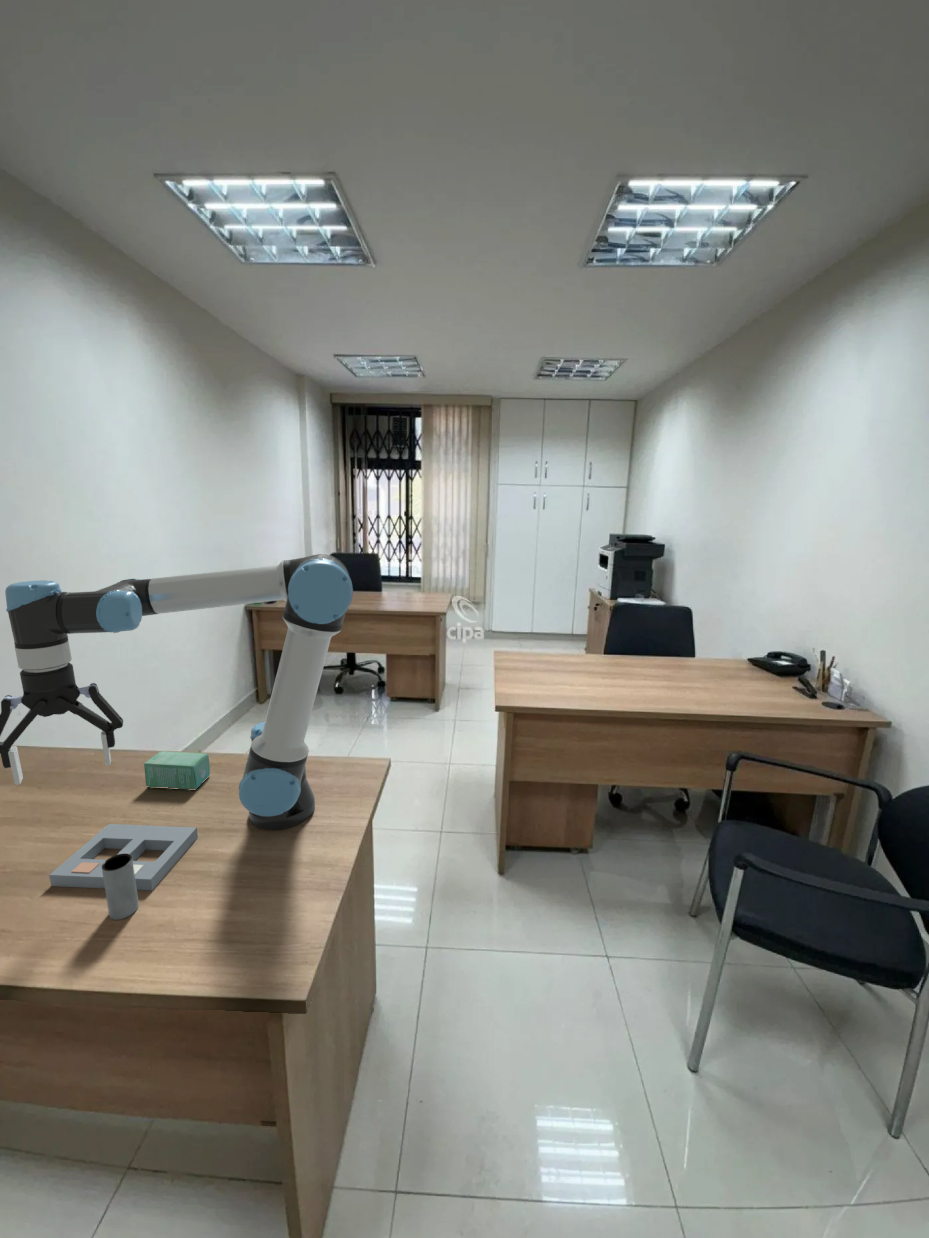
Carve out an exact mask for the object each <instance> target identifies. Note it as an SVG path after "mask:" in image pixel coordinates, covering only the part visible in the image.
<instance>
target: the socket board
mask: <svg viewBox="0 0 929 1238" xmlns="http://www.w3.org/2000/svg"><path fill="white" fill-rule="evenodd" d="M197 828H198V827H196V826H195V827H191V826H169V825H168V826H166V825H147V824H146V825H143V824H122V823H121V824H119V823H109V824H106V826H105V827H104V828H102V829H101V830H100V831H99V832H98V833H97V834H95V835H94V836H93V837H92V838H91V839H89V840H88V841H87V842H86V843H85V844H83V845H82V847H80V848H78V850H77V851H76V852H74V853H73V854H72V855H70V857H68V858H67V859H66V860H65V861H63V863H61V864H60V865H59V866H58V867H56V869H54V870H53V871H52V872H51V873H49V876H48V877H49V881H50V886H51V887H63V888H64V887H66V888H68V887H69V888H85V889H86V888H91V889H105V886H104V879H103V873H102V864H103V863H104V862H105V861H106V860H107V859H96V857H97V856H98V855H99V854H100V853H101V852H102V851H103V850H104V849H115V850H116V849H119V852H118V853H117V854H116V855H118V854H130V855H131V856H132V860H133V867H134V874H135V881H136V888H137V891H153V890H154V889H156V887H157V886H158V884H160V882H162V880H163V879H164V878H165V876H167V874H168V873H169V872H170V871H171V869H172V868H173V867H174V866H175V865H176V864H177V863H178V861H179V860H180V859H181V858H182V857H183V855H184V854H185V853H186V851H188V849H189V848H190V847H191V846H192V845H193V843H195V841H197V839H198V838H199V835H198V829H197ZM145 851H163V852H162V854H161V855H159V857H158V858H157V859H156V860H155V861H144V860H143V861H142V860H138V859H139V857H141V855H143V854H144V852H145Z"/></svg>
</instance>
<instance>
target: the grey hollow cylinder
mask: <svg viewBox="0 0 929 1238" xmlns="http://www.w3.org/2000/svg"><path fill="white" fill-rule="evenodd" d="M117 854H118V853H117ZM117 854H115V855H113V856H111V857H109V858H107V859H105V860H106V861H105V862H104V863H103V864H102V873H103V879H104V886H105V888H104V892H105V897H106V903H107V905H106V906H107V910H108V916H109V918H110V919H111V920H114V921H115V920H116V921H118V920H123V919H126V918H128V917H130V916H131V915H133V914H134V913H135V912H136V911H137V910H138V909H139V907H140V906H139V905H140V903H139V896H138V890H137V888H136V881H135V874H134V867H133V860H132V856H131V855H130V854H118V855H117Z"/></svg>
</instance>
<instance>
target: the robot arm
mask: <svg viewBox="0 0 929 1238" xmlns="http://www.w3.org/2000/svg"><path fill="white" fill-rule="evenodd" d="M353 593H354V588H353V583H352V579H351V577H350V573H349V571H348V569H347V567H346V565H345V564H344V563H343V562H342V561H341V560H340V559H338V558H337V557H335V556H333V555H331V554H330V555H329V554H326V553H324V554H323V553H322V554H321V553H317V554H312V555H309V556H305V557H300V558H299V557H298V558H295V559H294V558H293V559H285V560H281V562H280V563H279V564H277V565H270V566H263V567H262V566H261V567H260V566H259V567H253V568H252V567H251V568H245V569H233V570H222V571H213V572H203V573H202V572H201V573H193V574H183V575H173V576H164V577H155V578H146V579H141V578H127V579H122V580H120V581H118V582H116V583H113V584H111V585H109V586H106V587H104V588H100V589H98V590H95V591H93V590H92V591H77V592H75V591H74V592H71V591H70V592H67V591H62V589H61V586H60V584H59V583H58V582H57V581H55V580H27V581H20V582H14V583H11V584H9V585H7V587H5V600H6V612H7V613H8V619H9V622H10V627H11V632H12V637H13V641H14V642H13V643H14V651H15V656H16V662H17V667H18V668H19V669H20V672H19V677H20V681H21V688H22V692H23V694H22V696H12V695H11V694H8V695H7V694H6V695H5V696H4V697H3V698H2V700H1V701H0V737H1V736H2V734H3V731H4V729H5V727H6V725H7V722H8V721H9V718H10V716H11V713H12V712H13V710H16V709H17V707H18V706H19V704H22V705H23V706H25V707H26V708H27V709H29V710H28V712H27V713H26V714H25V715H24V717H23V718H22V719H21V720H20V721H19V723H18V724H16V726H15V727H14V729H12V731H11V733H9V735H8V736H7V737H6V738H5V739H4V741H0V757H1V762H2V767H3V768H4V769H9V768H11V773H12V778H13V782H14V786H18V785H21V783H22V781H23V778H24V776H23V775H24V774H23V770H22V766H21V760H20V756H19V750H18V746H17V745H14V743H15V742H16V741H17V740H18V739H19V737H21V735H22V734H23V733H24V732H25V730H26V729H27V728H28V727H29V726H30V724H31V723H32V722H33V721H34V720H35V719H36V717H37V716H40V717H43V718H46V717H51V716H53V715H59V716H60V715H64V714H66V713H68V712H70V713H72V714H73V715H75V716H79V717H80V718H82V719H84V721H87V722H88V723H89V724H91V725H92V726H94V727H95V728H97V729H99V730H101V732H100V739H101V744H102V746H101V747H102V751H103V752H102V753H103V757H104V762H105V766H106V767H108V766H111V762H112V757H111V750H110V748H114V747H115V745H116V738H115V733H114V731H116V730H117V729H121V728H122V727H123V726H124V719H123V717H121V716H120V714H119V713H118V712H117V711H116V710H115V708H114V707H112V705H111V704H110V703H109V702H108V701H107V700H106V698H105V697H104V696H103V695H102V694H101V693H100V690H99V688H98V687H99V686H98V684H97V683H95V682H92V683H90V684H89V685H88V686H83V687H79V686H78V685H77V683H76V676H75V671H74V666H73V664H72V663H71V661H72V660H73V659H72V654H71V649H70V643H69V636H68V634H69V635H71V634H96V633H97V634H98V633H113V634H115V633H120V632H131V631H134V630H136V629H138V628H139V626H140V623H141V622H142V618H143V617H146V616H153V615H159V614H168V613H178V612H179V613H180V612H186V611H188V612H189V611H194V610H195V611H196V610H203V609H213V608H221V607H222V608H223V607H232V606H240V605H248V604H258V603H267V602H275V601H276V602H277V601H284V602H285V606H284V610H283V614H282V620H283V621H284V623H285V624H286V626H287V631H286V635H285V639H284V644H283V646H282V650H281V651H282V652H281V654H280V655H281V656H280V659H279V663H278V668H277V672H276V675H275V679H274V683H273V684H274V685H273V687H272V692H271V695H270V699H269V704H268V707H267V712H266V716H265V720H264V721H262V722H261V721H260V722H259V723H257V724H255V725H254V726H253V727H252V728H251V730H250V739H251V744H250V749H249V752H248V756H247V761H246V764H245V767H244V771H243V775H242V779H241V780H240V781H239V785H238V796H239V798H238V799H239V801H240V803H241V805H242V806H243V807H244V808H245V809H246V810H247V811H248V817H249V821H250V823H251V824H252V825H253V826H255V827H257V828H259V829H262V830H268V831H269V830H270V831H271V830H272V831H275V830H276V831H277V830H282V829H288V828H291V827H293V826H296V825H298V824H299V825H300V824H302V822H304V821H306V820H307V819H308V818H310V817H311V815H313V813H314V811H315V809H316V808H315V807H316V800H315V795H314V792H313V790H312V788H311V786H310V783H309V782H308V779H307V773H306V770H307V769H306V764H307V763H306V762H307V760H308V757H309V756H308V755H309V752H310V749H309V746H308V745H307V743H306V742H305V739H306V736H307V735H306V734H307V731H308V727H309V725H310V724H309V723H310V720H311V715H312V712H313V708H314V705H315V701H316V696H317V694H318V693H317V692H318V689H319V685H320V681H321V677H322V674H323V671H324V666H325V664H326V659H327V655H328V651H329V648H330V644H331V639H332V637H334V636H335V635H337V634H339V633H340V632H341V631H342V628H343V626H344V625H343V624H344V621H345V617H346V614H347V610H348V609H349V606H350V605H351V604H352V603H351V602H352V600H353ZM81 695H84V696H85V698H88V699H89V698H90V699H91V701H92V702H93V704H94V706H96V707H97V708H98V709H99V710H100V711H101V712H102V713H103V715H104V716H105V717H106V718H107V720H106V718H104V717H102V716H101V715H99V714H98V713H96V712H94V711H93V710H91V709H89V707H86V706H85V705H84V704H83V703H82V702H80V701H79V700H78V698H79V697H80V696H81ZM108 720H109V721H108Z"/></svg>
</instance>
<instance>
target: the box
mask: <svg viewBox="0 0 929 1238" xmlns="http://www.w3.org/2000/svg"><path fill="white" fill-rule="evenodd" d="M143 766H144V767H143V768H144V777H145V787H146V786H149V787H168V788H178V789H197V788H198V787H199V785H201V783H202V782H203V781H204V780H205V779H206V778H207V777H208V776H209V775H210V774H211V764H210V757H209V754H208V753H204V752H203V753H202V752H186V751H185V752H182V751H166V750H165V751H164V750H161V751H159V752H158V753H156V754H155V755H154V756H152V757H151V758H150V759H148V760H147V761H145V762H144V763H143ZM210 776H211V775H210ZM210 776H209V777H210ZM201 786H202V785H201ZM199 788H200V787H199ZM199 788H198V789H199ZM198 789H197V790H198Z"/></svg>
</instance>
